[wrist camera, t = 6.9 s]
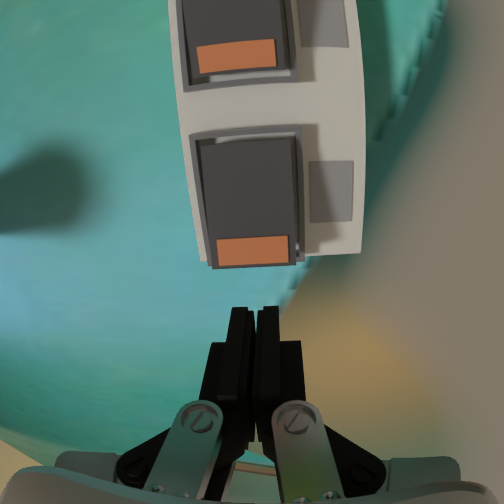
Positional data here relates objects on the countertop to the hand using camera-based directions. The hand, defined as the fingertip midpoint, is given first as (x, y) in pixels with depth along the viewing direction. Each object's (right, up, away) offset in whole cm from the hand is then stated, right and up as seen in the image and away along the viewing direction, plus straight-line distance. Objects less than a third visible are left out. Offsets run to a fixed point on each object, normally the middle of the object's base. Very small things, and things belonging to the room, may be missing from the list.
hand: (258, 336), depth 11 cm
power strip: (0, +18, +3) cm, 18 cm away
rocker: (0, +6, +5) cm, 7 cm away
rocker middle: (-1, +14, 0) cm, 14 cm away
